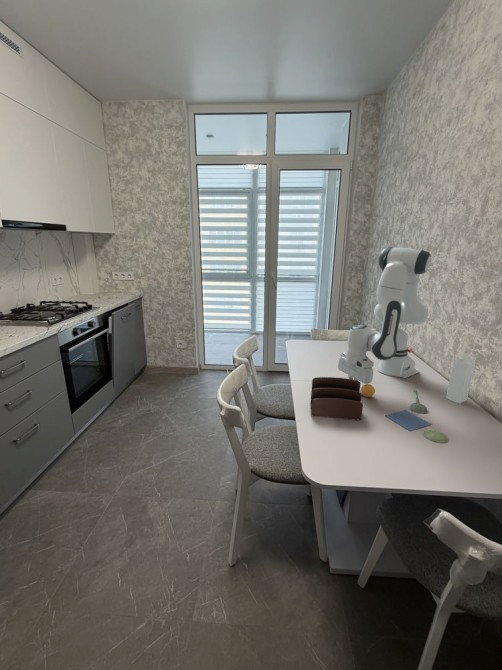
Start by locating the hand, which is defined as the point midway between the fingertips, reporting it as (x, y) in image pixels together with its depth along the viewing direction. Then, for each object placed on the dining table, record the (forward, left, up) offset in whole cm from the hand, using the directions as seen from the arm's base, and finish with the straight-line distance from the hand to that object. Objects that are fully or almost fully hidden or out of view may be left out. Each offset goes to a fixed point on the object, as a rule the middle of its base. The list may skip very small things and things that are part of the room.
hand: (352, 384), depth 151 cm
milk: (-36, +28, -2) cm, 46 cm away
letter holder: (+23, +16, -2) cm, 28 cm away
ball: (0, +10, +1) cm, 10 cm away
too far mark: (0, +44, -2) cm, 44 cm away
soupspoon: (-17, +23, -2) cm, 28 cm away
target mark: (0, +32, -2) cm, 32 cm away
